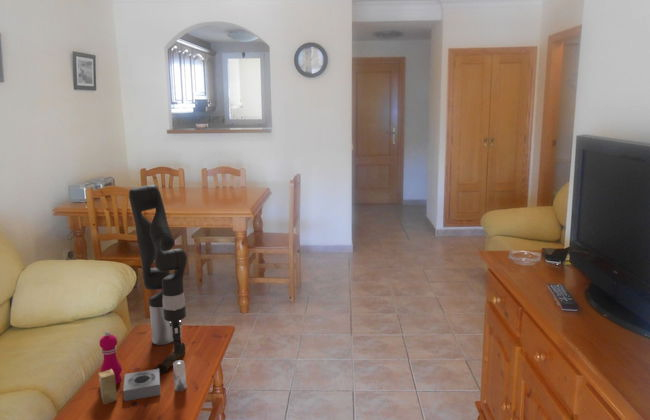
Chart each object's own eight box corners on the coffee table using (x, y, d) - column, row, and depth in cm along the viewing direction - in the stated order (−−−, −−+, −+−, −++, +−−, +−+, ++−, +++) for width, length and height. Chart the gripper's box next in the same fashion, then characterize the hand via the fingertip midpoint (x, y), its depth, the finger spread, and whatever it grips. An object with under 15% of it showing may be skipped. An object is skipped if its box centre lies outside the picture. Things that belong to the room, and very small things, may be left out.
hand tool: (166, 374, 192) (165, 363, 192) (157, 373, 193) (156, 362, 193) (191, 352, 210) (190, 341, 210) (182, 350, 211) (181, 340, 211)
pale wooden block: (101, 398, 176) (98, 372, 174) (114, 394, 179) (112, 368, 177) (103, 404, 173) (100, 378, 171) (117, 400, 175) (114, 374, 173)
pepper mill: (127, 378, 190) (122, 328, 186) (113, 388, 183) (108, 337, 179) (111, 375, 192) (106, 326, 188) (97, 385, 185) (92, 334, 181)
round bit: (174, 386, 184) (172, 361, 182) (186, 384, 185) (184, 359, 183) (175, 392, 180) (173, 366, 178) (186, 390, 181) (184, 364, 179)
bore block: (125, 384, 186) (124, 374, 185) (159, 378, 189) (159, 368, 189) (124, 401, 174) (123, 390, 174) (160, 394, 178) (159, 384, 177)
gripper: (162, 299, 182) (165, 341, 185) (163, 314, 168) (166, 358, 171) (184, 296, 184) (186, 338, 187) (186, 311, 171) (189, 355, 174)
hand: (177, 348), depth 179 cm, fingers open, 8 cm apart
